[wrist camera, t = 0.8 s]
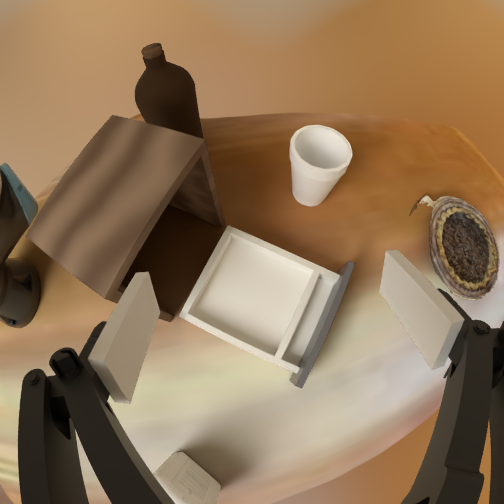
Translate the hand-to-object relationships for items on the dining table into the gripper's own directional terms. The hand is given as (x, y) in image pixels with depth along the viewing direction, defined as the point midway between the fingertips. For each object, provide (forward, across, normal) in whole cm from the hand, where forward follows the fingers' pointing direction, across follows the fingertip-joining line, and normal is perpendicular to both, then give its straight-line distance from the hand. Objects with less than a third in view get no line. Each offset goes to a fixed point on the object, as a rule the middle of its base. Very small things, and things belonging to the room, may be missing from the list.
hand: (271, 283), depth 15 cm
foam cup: (+38, +11, -5) cm, 40 cm away
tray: (+24, 0, -18) cm, 30 cm away
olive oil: (+48, -13, +6) cm, 50 cm away
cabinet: (+31, -16, -11) cm, 36 cm away
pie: (+28, +42, -16) cm, 53 cm away
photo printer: (+4, -13, -39) cm, 42 cm away
